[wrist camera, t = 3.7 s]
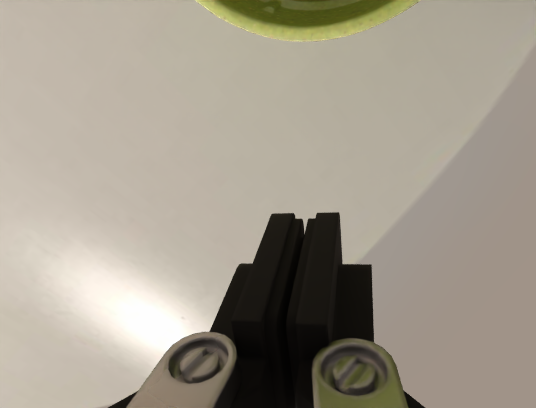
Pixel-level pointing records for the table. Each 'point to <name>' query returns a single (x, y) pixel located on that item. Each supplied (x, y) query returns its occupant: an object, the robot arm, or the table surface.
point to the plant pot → (306, 16)
